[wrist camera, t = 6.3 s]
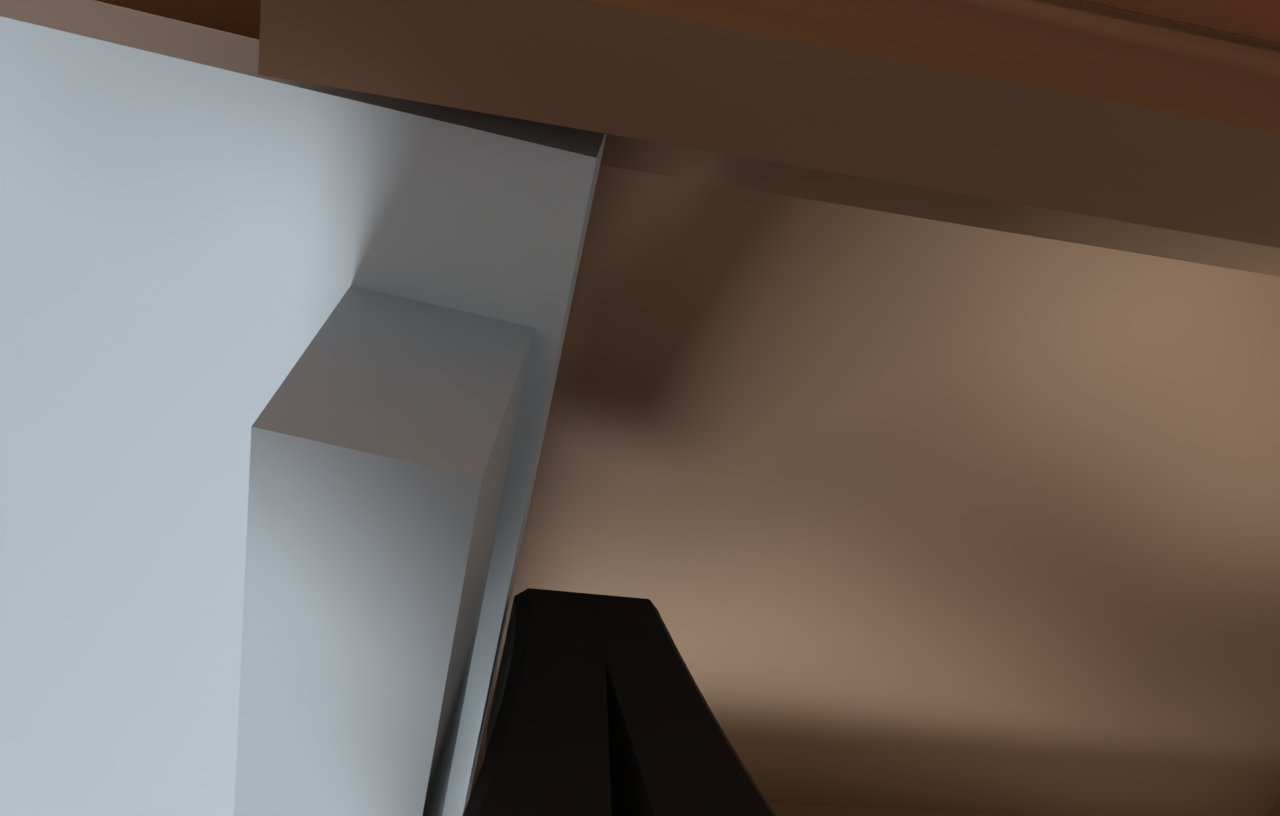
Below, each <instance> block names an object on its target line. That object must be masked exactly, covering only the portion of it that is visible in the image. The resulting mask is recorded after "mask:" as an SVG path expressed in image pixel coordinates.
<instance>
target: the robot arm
mask: <svg viewBox="0 0 1280 816" xmlns="http://www.w3.org/2000/svg"><path fill="white" fill-rule="evenodd" d="M463 816H776V815H775V813H774V812H773V810H772V809H771V807H770V805H769V804H768V802H767V801H766V799H765V798H764V796H763V795H762V793H761V792H760V790H759V789H758V787H757V785H756V784H755V782H754V781H753V779H752V777H751V776H750V774H749V772H748V771H747V769H746V768H745V766H744V764H743V763H742V761H741V759H740V758H739V756H738V755H737V753H736V751H735V750H734V748H733V746H732V745H731V743H730V742H729V740H728V738H727V737H726V735H725V733H724V732H723V730H722V728H721V727H720V725H719V723H718V721H717V720H716V718H715V716H714V715H713V713H712V711H711V709H710V708H709V706H708V704H707V702H706V700H705V699H704V697H703V695H702V693H701V691H700V690H699V688H698V686H697V684H696V682H695V681H694V679H693V677H692V675H691V673H690V671H689V670H688V668H687V666H686V664H685V662H684V660H683V658H682V656H681V655H680V653H679V651H678V649H677V647H676V645H675V643H674V641H673V639H672V637H671V635H670V633H669V631H668V629H667V627H666V625H665V623H664V621H663V619H662V617H661V615H660V613H659V611H658V609H657V608H656V607H655V606H654V604H653V603H652V602H651V600H650V599H644V598H633V597H621V596H610V595H599V594H588V593H577V592H566V591H555V590H544V589H533V588H527V589H526V590H524V591H522V592H521V593H519V594H517V595H515V596H514V600H513V605H512V610H511V614H510V619H509V624H508V629H507V634H506V638H505V643H504V648H503V653H502V658H501V662H500V667H499V672H498V677H497V682H496V686H495V691H494V696H493V701H492V706H491V710H490V715H489V720H488V725H487V735H486V749H485V758H484V761H483V764H482V767H481V769H480V772H479V775H478V778H477V780H476V783H475V785H474V788H473V791H472V793H471V796H470V798H469V801H468V803H467V806H466V809H465V811H464V814H463Z"/></svg>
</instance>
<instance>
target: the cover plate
mask: <svg viewBox="0 0 1280 816" xmlns="http://www.w3.org/2000/svg"><path fill="white" fill-rule="evenodd" d="M258 63H259V39H255V38H250V37H246V36H242V35H238V34H234V33H229V32H225V31H221V30H217V29H213V28H209V27H204V26H200V25H196V24H192V23H188V22H183V21H179V20H175V19H171V18H167V17H163V16H158V15H154V14H150V13H146V12H142V11H137V10H133V9H129V8H125V7H121V6H117V5H112V4H108V3H104V2H100V1H96V0H0V816H463V814H464V811H465V809H466V806H467V803H468V801H469V797H470V793H471V788H472V783H473V778H474V773H475V768H476V763H477V759H478V754H479V749H480V744H481V739H482V734H483V730H484V725H485V720H486V715H487V710H488V705H489V701H490V696H491V691H492V686H493V681H494V676H495V671H496V667H497V662H498V657H499V652H500V647H501V642H502V638H503V633H504V628H505V623H506V618H507V613H508V609H509V604H510V599H511V594H512V589H513V584H514V580H515V575H516V570H517V565H518V560H519V555H520V550H521V546H522V541H523V536H524V531H525V526H526V521H527V517H528V512H529V507H530V502H531V497H532V492H533V488H534V483H535V478H536V473H537V468H538V463H539V458H540V454H541V449H542V444H543V439H544V434H545V429H546V425H547V420H548V415H549V410H550V405H551V400H552V396H553V391H554V386H555V381H556V376H557V371H558V366H559V362H560V357H561V352H562V347H563V342H564V337H565V333H566V328H567V323H568V318H569V313H570V308H571V304H572V299H573V294H574V289H575V284H576V279H577V274H578V270H579V265H580V260H581V255H582V250H583V245H584V241H585V236H586V231H587V226H588V221H589V216H590V212H591V207H592V202H593V197H594V192H595V187H596V183H597V178H598V173H599V168H600V163H601V158H602V153H603V149H604V144H605V139H606V134H605V133H599V132H593V131H588V130H582V129H576V128H570V127H564V126H558V125H552V124H546V123H540V122H535V121H529V120H523V119H517V118H511V117H505V116H499V115H493V114H487V113H482V112H476V111H470V110H464V109H458V108H452V107H446V106H440V105H434V104H429V103H423V102H417V101H411V100H405V99H399V98H393V97H387V96H382V95H376V94H370V93H364V92H358V91H352V90H346V89H340V88H334V87H329V86H323V85H317V84H311V83H305V82H299V81H293V80H287V79H281V78H276V77H270V76H264V75H258Z"/></svg>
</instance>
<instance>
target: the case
mask: <svg viewBox="0 0 1280 816" xmlns="http://www.w3.org/2000/svg"><path fill="white" fill-rule="evenodd" d="M258 75H264V76H270V77H276V78H281V79H287V80H293V81H299V82H305V83H311V84H317V85H323V86H329V87H334V88H340V89H346V90H352V91H358V92H364V93H370V94H376V95H382V96H387V97H393V98H399V99H405V100H411V101H417V102H423V103H429V104H434V105H440V106H446V107H452V108H458V109H464V110H470V111H476V112H482V113H487V114H493V115H499V116H505V117H511V118H517V119H523V120H529V121H535V122H540V123H546V124H552V125H558V126H564V127H570V128H576V129H582V130H588V131H593V132H599V133H605V134H606V139H605V144H604V149H603V153H602V158H601V163H600V168H599V173H598V178H597V183H596V187H595V192H594V197H593V202H592V207H591V212H590V216H589V221H588V226H587V231H586V236H585V241H584V245H583V250H582V255H581V260H580V265H579V270H578V274H577V279H576V284H575V289H574V294H573V299H572V304H571V308H570V313H569V318H568V323H567V328H566V333H565V337H564V342H563V347H562V352H561V357H560V362H559V366H558V371H557V376H556V381H555V386H554V391H553V396H552V400H551V405H550V410H549V415H548V420H547V425H546V429H545V434H544V439H543V444H542V449H541V454H540V458H539V463H538V468H537V473H536V478H535V483H534V488H533V492H532V497H531V502H530V507H529V512H528V517H527V521H526V526H525V531H524V536H523V541H522V546H521V550H520V555H519V560H518V565H517V570H516V575H515V580H514V584H513V589H512V594H511V599H510V604H509V609H508V613H507V618H506V623H505V628H504V633H503V638H502V642H501V647H500V652H499V657H498V662H497V667H496V671H495V676H494V681H493V686H492V691H491V696H490V701H489V705H488V710H487V715H486V720H485V725H484V730H483V734H482V739H481V744H480V749H479V754H478V759H477V763H476V768H475V773H474V778H473V783H472V788H471V793H472V791H473V788H474V785H475V783H476V780H477V778H478V775H479V772H480V769H481V767H482V764H483V761H484V758H485V749H486V735H487V725H488V720H489V715H490V710H491V706H492V701H493V696H494V691H495V686H496V682H497V677H498V672H499V667H500V662H501V658H502V653H503V648H504V643H505V638H506V634H507V629H508V624H509V619H510V614H511V610H512V605H513V600H514V596H515V595H517V594H519V593H521V592H522V591H524V590H526V589H527V588H533V589H544V590H555V591H566V592H577V593H588V594H599V595H610V596H621V597H633V598H644V599H650V600H651V602H652V603H653V604H654V606H655V607H656V608H657V609H658V611H659V613H660V615H661V617H662V619H663V621H664V623H665V625H666V627H667V629H668V631H669V633H670V635H671V637H672V639H673V641H674V643H675V645H676V647H677V649H678V651H679V653H680V655H681V656H682V658H683V660H684V662H685V664H686V666H687V668H688V670H689V671H690V673H691V675H692V677H693V679H694V681H695V682H696V684H697V686H698V688H699V690H700V691H701V693H702V695H703V697H704V699H705V700H706V702H707V704H708V706H709V708H710V709H711V711H712V713H713V715H714V716H715V718H716V720H717V721H718V723H719V725H720V727H721V728H722V730H723V732H724V733H725V735H726V737H727V738H728V740H729V742H730V743H731V745H732V746H733V748H734V750H735V751H736V753H737V755H738V756H739V758H740V759H741V761H742V763H743V764H744V766H745V768H746V769H747V771H748V772H749V774H750V776H751V777H752V779H753V781H754V782H755V784H756V785H757V787H758V789H759V790H760V792H761V793H762V795H763V796H764V798H765V799H766V801H767V802H768V804H769V805H770V807H771V809H772V810H773V812H774V813H775V815H776V816H1280V43H1276V42H1271V41H1267V40H1262V39H1257V38H1252V37H1248V36H1243V35H1238V34H1233V33H1229V32H1224V31H1219V30H1215V29H1210V28H1205V27H1200V26H1196V25H1191V24H1186V23H1182V22H1177V21H1172V20H1167V19H1163V18H1158V17H1153V16H1148V15H1144V14H1139V13H1134V12H1130V11H1125V10H1120V9H1115V8H1111V7H1106V6H1101V5H1097V4H1092V3H1087V2H1082V1H1078V0H261V8H260V35H259V63H258ZM471 793H470V796H471ZM469 798H470V797H469Z"/></svg>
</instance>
